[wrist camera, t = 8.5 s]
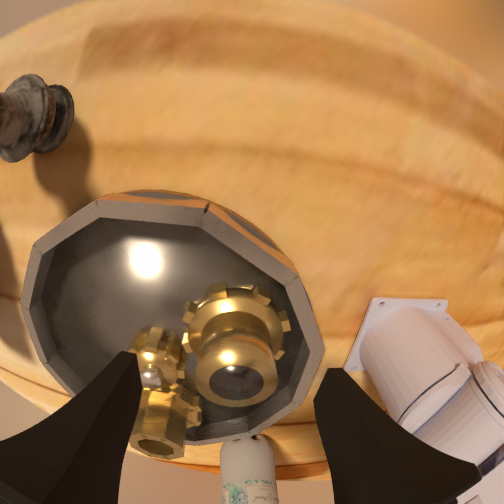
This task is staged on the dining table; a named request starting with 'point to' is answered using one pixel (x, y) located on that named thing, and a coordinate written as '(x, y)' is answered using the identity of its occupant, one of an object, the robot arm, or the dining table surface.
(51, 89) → the grey chess piece
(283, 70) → the dining table surface
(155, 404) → the planet gear
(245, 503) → the bottle
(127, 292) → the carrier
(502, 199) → the dining table surface
